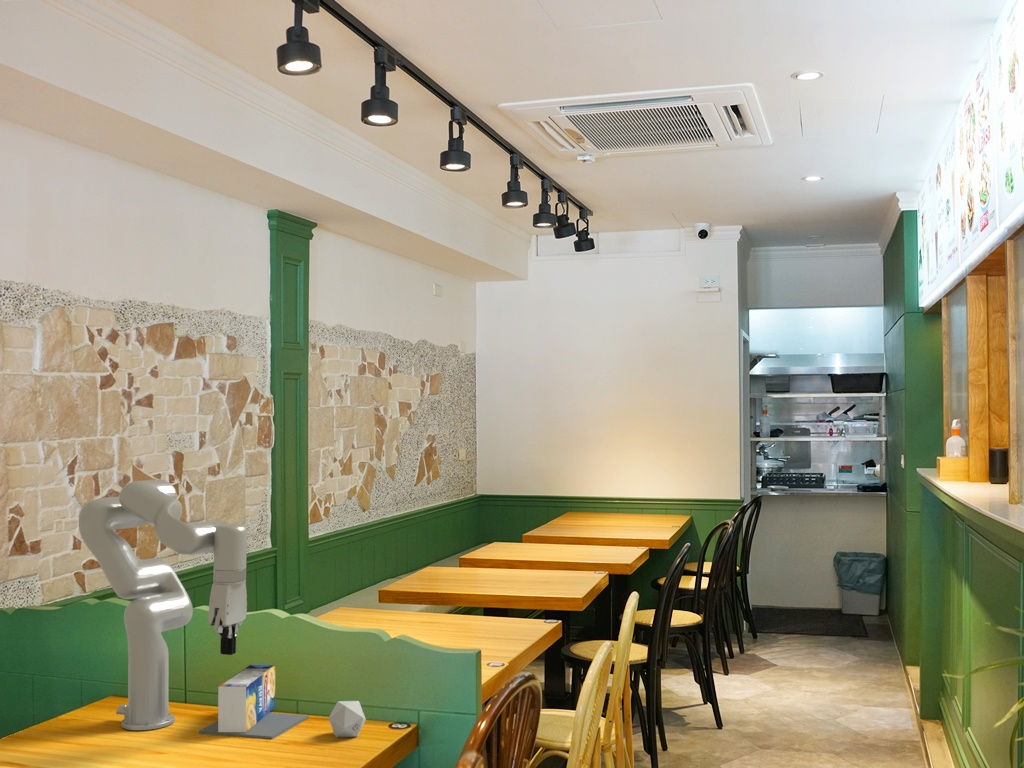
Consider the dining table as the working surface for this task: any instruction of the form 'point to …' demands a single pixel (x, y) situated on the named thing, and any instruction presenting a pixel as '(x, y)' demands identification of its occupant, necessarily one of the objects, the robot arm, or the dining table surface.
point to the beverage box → (246, 698)
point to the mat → (262, 726)
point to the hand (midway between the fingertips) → (228, 653)
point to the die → (347, 719)
